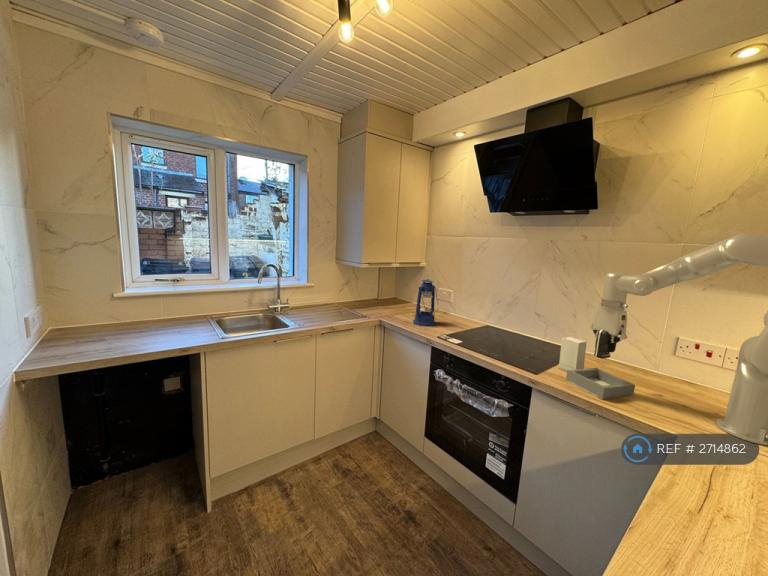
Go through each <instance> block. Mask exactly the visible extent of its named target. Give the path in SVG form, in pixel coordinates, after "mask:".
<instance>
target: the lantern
mask: <svg viewBox="0 0 768 576" xmlns="http://www.w3.org/2000/svg"><path fill="white" fill-rule="evenodd" d="M421 282H422V283H421V286H418V294H417V299H416V306H415V307H416V309H415V314H414V319H413V320H412V323H413V324H414V325H415V326H419V327H434V326H436V321H435V318H436V317H435V315H436V314H435V313H436V312H438V311H439V309H436V311H435V300H436V299H438V296H437V294H436V293H437V289H436V286H435V285H434V284H433V283H434V281H433V280H430V279H423V280H421ZM435 297H436V298H435ZM425 298H427V299H431V300H430V306H428V307H425V306H426V305H425V304H426V303H424V299H425ZM421 301H422V303H423V304H421ZM436 303H437V304H439V301H438V300H436ZM422 305H423V307H421V306H422Z"/></svg>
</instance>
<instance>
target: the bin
mask: <svg viewBox="0 0 768 576" xmlns="http://www.w3.org/2000/svg"><path fill="white" fill-rule="evenodd" d="M565 381H566V382H568V383H570V384H571V385H574V386H576V387H578V388H580V389H581V390H583V391H585V392H586V393H589V394H591V395H593V396H594V397H597V398H599V399H600V400H610V399H619V398H624V397H626V398H628V397H631V396H633V397H634V393H635V388H636V384H634V383H633V382H631V381H627V380H625V379H623V378H621V377H618V376H616V375H614V374H612V373H609V372H607V371H605V370H603V369H600V368H598V367H590V368H584V369H576V370H567V371H566V377H565Z"/></svg>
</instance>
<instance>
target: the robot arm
mask: <svg viewBox="0 0 768 576" xmlns="http://www.w3.org/2000/svg"><path fill="white" fill-rule="evenodd" d="M741 264H746V265H753V266H759V267H763V268H768V235H764V234H763V235H762V234H756V233H755V234H754V233H739V234H736V235H734V236H731V237H728V238H726V239H723V240H721V241H719V242H716V243H712V244H710V245H708V246H706V247H703V248H700V249H699V250H695V251H692V252H690V253H688V254H684V255H683V256H681V257H678V258H677V259H675V260H673V261H671V262H668V263H667V264H665V265H662V266H659V267H657V268H654V269H651V270H649V271H647V272H646V271H645V272H643V273H641V274H639V275H638V274H637V275H635V274H634V275H631V274H630V275H629V274H627V273H624V272H623V273H622V272H608V273H607V274H606V275H605V279H604V284H603V290H602V295H601V301H600V305H599V306H598V308H597V310H596V313H595V316H594V318H593V321H594V322H593V323H592V324H591V325H590V327H589V328H590V329H591V331H592V332H593V334H594V337H595V338H596V339H595V341H596V340H597V334H598V331H599V330H600V329H602V330H605V331H607V332H608V333H609V334H610V342H609V343H608V348H607V352H609V353H610V354H611V353H614V352H615V351H616V347H617V343H619V342H621V341H623V340H627V339H628V336H627V332H626V331H627V326H628V325H627V324H628V314H627V310H625V309H627V308H628V307H629V304H626V303H627V298H628V294H630V295H634V296H637V297H638V296H639V297H646V296H649V295H651V294H653V292H656V291H659V290H661V289H664V288H667V287H669V286H673V285H676V284H679V283H680V284H681V283H682V282H688V281H694V280H697V279H700V278H704V277H707V276H710V275H713V274H715V273H718V272H720V271H721V272H722V271H724V270H727V269H729V268H731V267H736V266H739V265H741ZM762 319H763V324H764V328H763V329H762V330H761V332H760V333H759V335H756V336H751V337H750V338H747V339H745V340H744V341H743V342H742V344H741V345H740V348H739V352H738V358H737V359H738V360H737V365H736V370H735V375H734V377H733V381H732V386H731V389H730V390H731V391H730V393H729V394H730V395H729V399H728V402H727V405H726V410H725V415H724V418H723V417H721V418H717V419H716V420H715V425H716V426H717V427H718V428H719V429H721V430H722V431H723V432H725V433H727V434H729V435H731V436H734V437H736V438H738V439H741V440H744V441H747V442H750V443H753V444H757V445H762V446H768V311H767V312H766V313H765V314H764V316H763V318H762ZM594 345H595V346H594V348H595V347H596V342H595V344H594Z"/></svg>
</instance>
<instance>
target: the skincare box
mask: <svg viewBox="0 0 768 576" xmlns="http://www.w3.org/2000/svg"><path fill="white" fill-rule="evenodd" d="M587 342H588V341H586V340H584V339H579V338H576V337H571V336H567V337H566V336H565V337H562V338H561V342H560V343H561V345H560V351H559V353H560V354H559V362H558V363H559V364H558V369H560V370H563V371H565V372H567V370H576V369H585V361H586V352H587Z"/></svg>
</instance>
